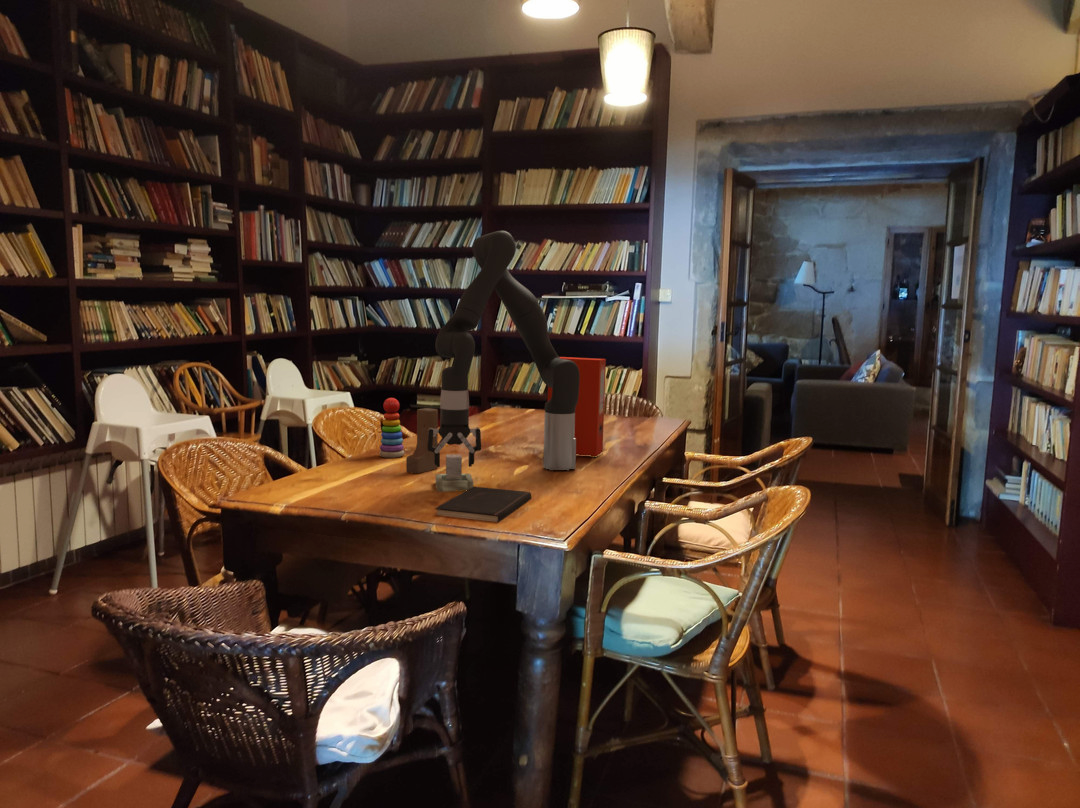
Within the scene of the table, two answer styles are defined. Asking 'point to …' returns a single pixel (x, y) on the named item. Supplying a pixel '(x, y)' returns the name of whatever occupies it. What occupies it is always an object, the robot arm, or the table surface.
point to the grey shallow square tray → (453, 483)
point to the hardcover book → (484, 504)
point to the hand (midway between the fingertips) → (454, 466)
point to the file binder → (589, 405)
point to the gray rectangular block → (453, 467)
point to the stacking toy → (391, 431)
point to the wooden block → (423, 442)
